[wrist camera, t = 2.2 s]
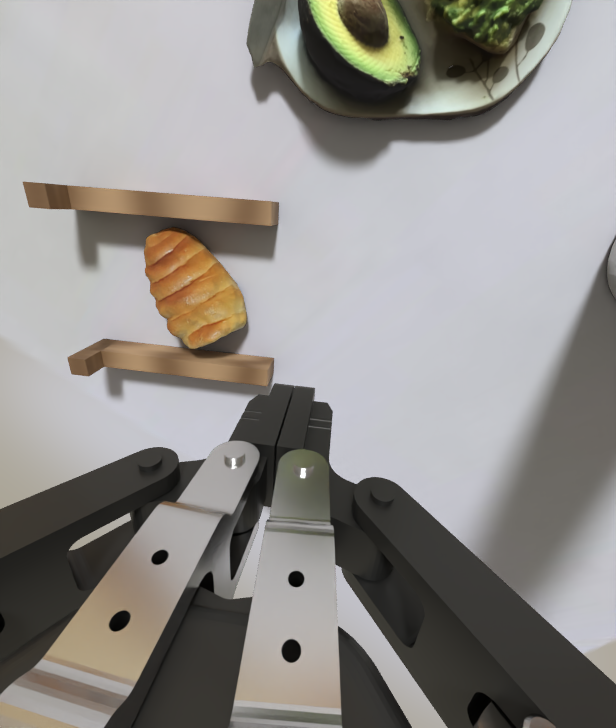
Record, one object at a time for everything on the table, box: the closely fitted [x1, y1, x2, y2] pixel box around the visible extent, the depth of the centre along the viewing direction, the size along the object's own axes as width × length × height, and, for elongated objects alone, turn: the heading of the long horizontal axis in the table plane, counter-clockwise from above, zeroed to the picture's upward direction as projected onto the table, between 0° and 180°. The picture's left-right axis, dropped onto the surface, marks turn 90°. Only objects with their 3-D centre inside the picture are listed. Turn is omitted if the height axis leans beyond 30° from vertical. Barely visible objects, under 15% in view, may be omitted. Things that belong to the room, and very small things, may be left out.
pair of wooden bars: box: [23, 182, 279, 386], centre depth 26 cm, size 16×14×4 cm
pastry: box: [144, 227, 247, 349], centre depth 26 cm, size 9×7×4 cm
